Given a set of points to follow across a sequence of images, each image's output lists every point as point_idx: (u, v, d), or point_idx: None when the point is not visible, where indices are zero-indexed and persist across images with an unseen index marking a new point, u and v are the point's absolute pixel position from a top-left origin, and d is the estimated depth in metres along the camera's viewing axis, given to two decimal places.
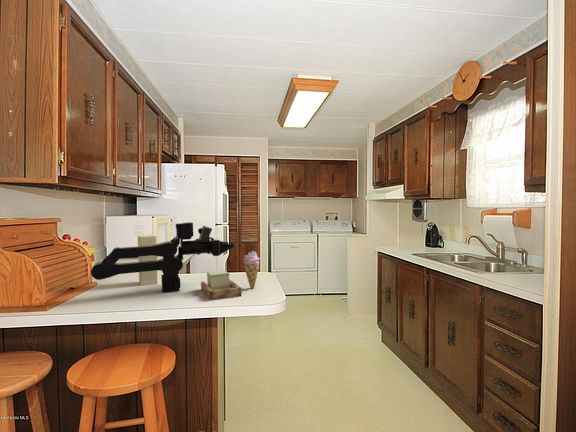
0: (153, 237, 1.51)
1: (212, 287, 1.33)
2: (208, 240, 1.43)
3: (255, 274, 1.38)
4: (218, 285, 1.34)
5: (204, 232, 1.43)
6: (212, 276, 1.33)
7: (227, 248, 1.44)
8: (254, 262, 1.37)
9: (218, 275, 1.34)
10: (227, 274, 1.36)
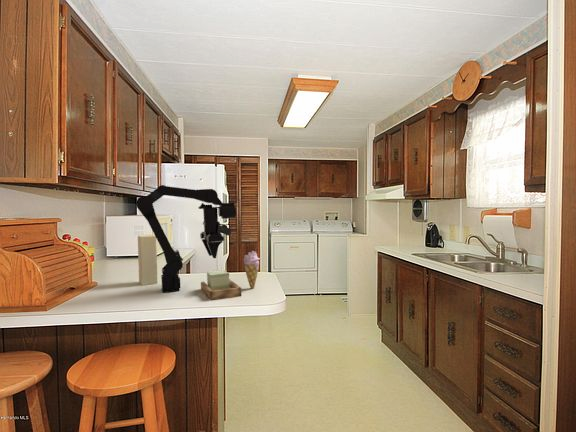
0: (153, 237, 1.51)
1: (212, 287, 1.33)
2: (219, 232, 1.44)
3: (255, 274, 1.38)
4: (218, 285, 1.34)
5: (226, 228, 1.46)
6: (212, 276, 1.33)
7: (212, 251, 1.41)
8: (254, 262, 1.37)
9: (218, 275, 1.34)
10: (227, 274, 1.36)
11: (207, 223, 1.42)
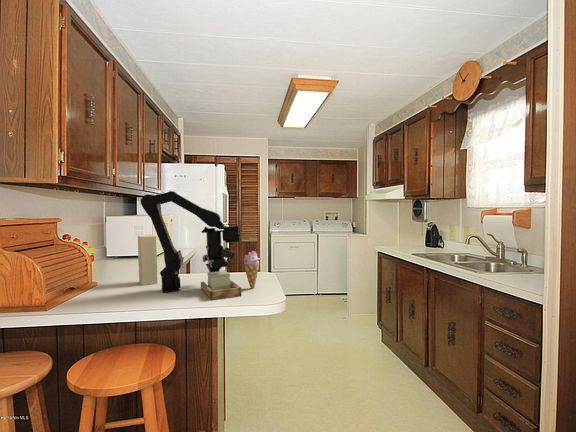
0: (153, 237, 1.51)
1: (213, 288, 1.32)
2: (222, 257, 1.41)
3: (255, 274, 1.38)
4: (219, 286, 1.33)
5: (230, 252, 1.42)
6: (213, 277, 1.32)
7: None
8: (254, 262, 1.37)
9: (219, 276, 1.33)
10: (228, 274, 1.35)
11: (210, 247, 1.39)
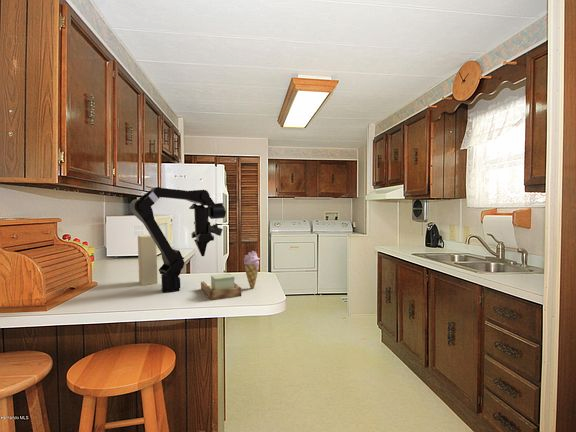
0: None
1: None
2: (209, 232, 1.47)
3: (255, 274, 1.38)
4: None
5: (217, 228, 1.49)
6: (217, 280, 1.26)
7: (201, 249, 1.47)
8: (254, 262, 1.37)
9: (223, 279, 1.27)
10: (232, 278, 1.29)
11: (198, 223, 1.46)
